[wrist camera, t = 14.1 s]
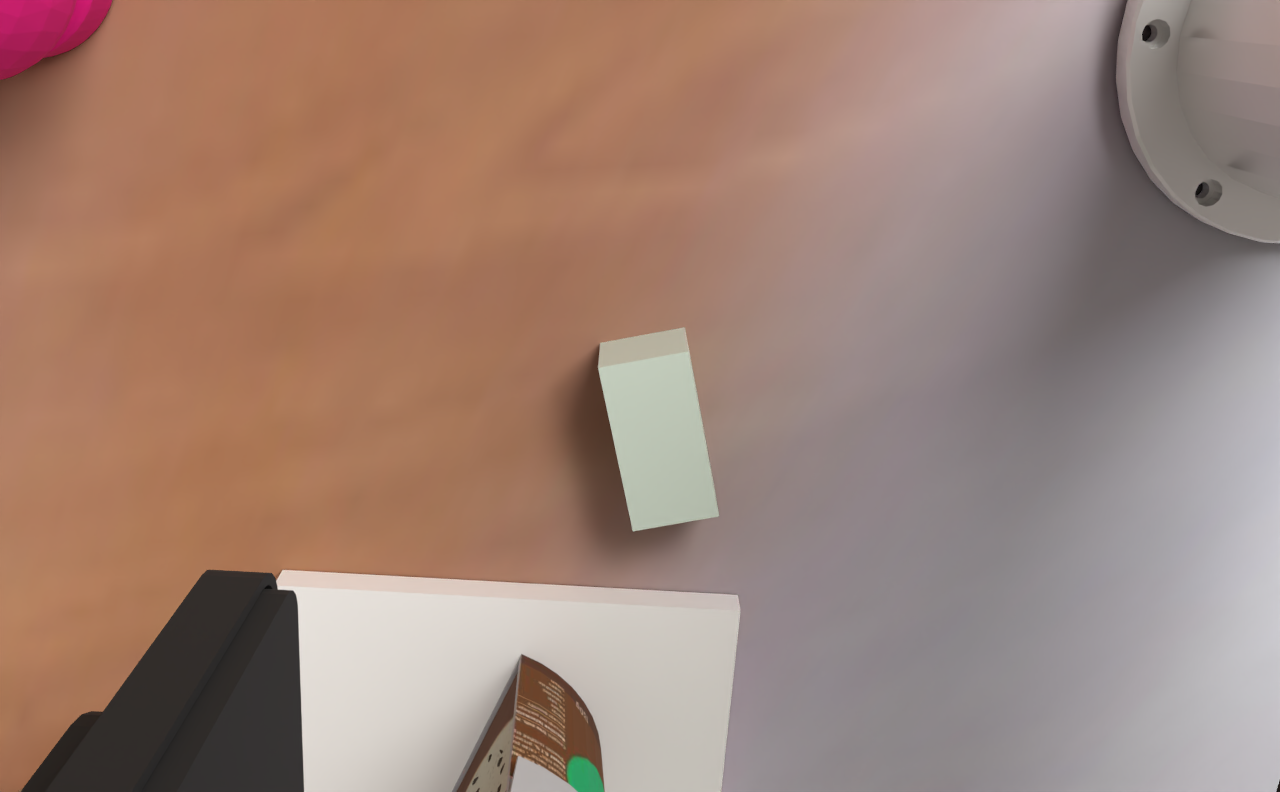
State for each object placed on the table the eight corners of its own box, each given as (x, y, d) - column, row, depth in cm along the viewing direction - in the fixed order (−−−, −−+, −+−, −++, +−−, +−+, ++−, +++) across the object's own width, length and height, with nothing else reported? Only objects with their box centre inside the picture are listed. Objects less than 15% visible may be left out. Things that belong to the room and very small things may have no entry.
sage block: (600, 341, 41) (597, 367, 38) (684, 325, 41) (688, 351, 38) (632, 495, 43) (632, 531, 40) (713, 481, 43) (719, 516, 40)
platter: (737, 594, 44) (740, 610, 43) (702, 931, 50) (703, 953, 49) (282, 569, 44) (273, 585, 43) (295, 912, 49) (287, 935, 48)
